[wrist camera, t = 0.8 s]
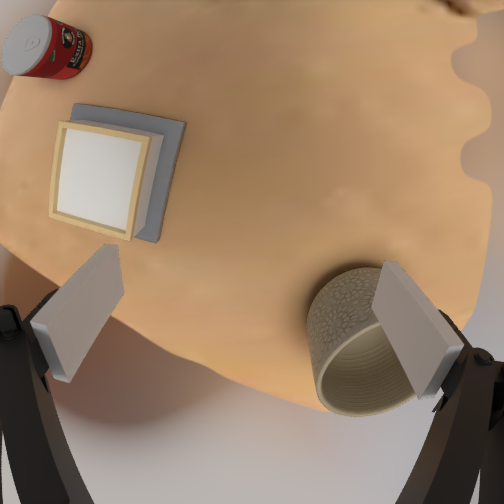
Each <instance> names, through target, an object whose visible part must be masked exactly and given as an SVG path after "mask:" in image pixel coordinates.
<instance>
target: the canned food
mask: <svg viewBox="0 0 504 504" xmlns="http://www.w3.org/2000/svg"><path fill="white" fill-rule="evenodd" d="M91 51H92V44H91V40H90V39H89V37H88V35H87V34H86V33H85V32H83V31H81V30H79V29H76V28H74V27H72V26H69V25H67V24H65V23H62V22H60V21H57V20H55V19H52V18H50V17H47V16H44V15H38V14H34V15H30V16H28V17H26V18H24V19H23V20H21V21H20V22H19V23H18V24H17V25H16V26H15V27H14V28H13V29H12V31H11V32H10V34H9V35H8V37H7V39H6V41H5V44H4V46H3V51H2V65H3V68H4V69H5V71H6V72H7V73H9V74H12V75H18V76H29V77H40V78H50V79H60V80H62V79H67V78H70V77H72V76H74V75H76V74H78V73H79V72H80V71H81V70H82V69H83V68H84V67H85V65H86V64H87V62H88V60H89V58H90V56H91Z"/></svg>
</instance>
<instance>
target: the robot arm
mask: <svg viewBox="0 0 504 504" xmlns="http://www.w3.org/2000/svg"><path fill="white" fill-rule="evenodd" d="M123 295H124V287H123V280H122V274H121V266H120V259H119V250H118V245H112V244H104V245H103V246H102V247H101V248H100V249H99V250H98V251H97V252H96V253H95V254H94V255H93V256H92V257H90V258H89V259H88V260H87V261H86V262H85V263H84V264H83V265H82V266H81V267H80V268H79V269H78V270H77V271H76V272H75V273H74V274H73V275H72V276H71V277H70V278H69V279H68V281H67V282H66V283H65V284H64V285H63V286H62V287H61V288H60V289H55V290H54V291H52V292H51V293H49V294H47V295H46V296H45V297H44V299H43V300H42V301H41V302H40V303H39V304H38V305H37V306H36V308H34V309H33V310H32V311H31V313H30V314H29V315H28V316H27V317H26V318H25V319H24V320H23V321H22V320H21V318H20V315H19V312H18V309H17V307H15V306H14V305H3V306H0V504H3V499H2V477H1V454H2V451H1V450H2V432H3V435H4V440H5V446H6V450H7V455H8V460H9V464H10V468H11V472H12V476H13V479H14V483H15V486H16V490H17V493H18V496H19V499H20V502H21V504H94V502H93V500H92V498H91V496H90V494H89V492H88V490H87V488H86V486H85V484H84V482H83V480H82V478H81V476H80V473H79V471H78V468H77V466H76V464H75V461H74V459H73V456H72V454H71V451H70V449H69V446H68V444H67V441H66V438H65V436H64V433H63V430H62V427H61V424H60V421H59V418H58V415H57V412H56V409H55V405H54V402H53V398H52V395H51V392H50V387H49V383H48V380H47V378H46V376H45V373H46V372H47V370H48V368H49V369H50V371H51V373H52V375H53V377H54V378H55V379H58V380H61V381H65V382H68V383H70V381H71V379H72V378H73V376H74V374H75V372H76V371H77V369H78V367H79V365H80V364H81V362H82V360H83V359H84V357H85V355H86V354H87V352H88V350H89V348H90V347H91V345H92V343H93V342H94V340H95V339H96V337H97V335H98V334H99V332H100V330H101V329H102V327H103V326H104V324H105V322H106V321H107V319H108V318H109V316H110V315H111V313H112V311H113V310H114V308H115V307H116V305H117V304H118V302H119V301H120V299H121V298H122V296H123ZM371 308H372V310H373V311H374V313H375V315H376V317H377V319H378V321H379V322H380V324H381V326H382V328H383V330H384V332H385V334H386V336H387V337H388V339H389V341H390V343H391V345H392V347H393V349H394V351H395V353H396V355H397V357H398V359H399V361H400V363H401V365H402V367H403V369H404V371H405V373H406V375H407V377H408V379H409V381H410V383H411V385H412V387H413V389H414V391H415V394H416V396H417V398H418V400H423V399H428V398H433V397H434V396H435V395H436V393H437V392H438V390H439V388H440V387H441V388H442V390H443V392H444V394H443V396H442V398H441V399H440V400H439V402H438V403H437V405H436V406H435V408H434V409H433V411H432V412H435V411H436V413H435V416H434V419H433V422H432V425H431V427H430V430H429V432H428V435H427V438H426V440H425V442H424V445H423V447H422V450H421V452H420V455H419V457H418V459H417V461H416V463H415V466H414V468H413V470H412V472H411V474H410V476H409V478H408V480H407V482H406V484H405V486H404V488H403V490H402V492H401V494H400V496H399V498H398V499H397V501H396V503H395V504H470V501H471V498H472V495H473V492H474V488H475V485H476V481H477V478H478V474H479V470H480V488H479V489H480V490H479V502H478V504H504V362H500V361H495V360H494V358H493V356H492V355H491V354H490V353H489V352H487V351H486V350H484V349H481V348H473V347H472V346H471V345H470V343H469V342H468V341H467V339H466V338H465V337H464V335H463V334H462V333H461V332H460V330H458V328H457V326H456V325H455V324H454V323H453V321H452V320H451V319H450V318H449V316H448V315H446V314H445V313H444V312H442V311H441V310H437V308H436V307H435V306H434V305H433V303H432V302H431V301H430V300H429V299H428V297H427V296H426V295H425V294H424V293H423V291H422V290H421V289H420V288H419V287H418V285H417V284H416V283H415V282H414V281H413V280H412V278H411V277H410V276H409V275H408V274H407V273H406V271H405V270H404V269H403V268H402V267H401V266H400V265H399V264H398V262H396V261H384V262H383V266H382V270H381V274H380V278H379V281H378V285H377V289H376V292H375V296H374V299H373V303H372V306H371ZM436 409H437V410H436Z"/></svg>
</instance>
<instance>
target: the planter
mask: <svg viewBox="0 0 504 504" xmlns="http://www.w3.org/2000/svg"><path fill="white" fill-rule="evenodd" d="M381 270H382V269H378V268H370V267H366V268H357V269H353V270H350V271H347V272H344V273H342V274H340V275H338V276H337V277H335V278H333V279H332V280H331V281H329V282H328V283H327V284H326V285H325V286H324V287H323V288H322V289H321V290H320V291H319V293H318V294H317V295H316V297H315V299H314V300H313V302H312V304H311V307H310V309H309V313H308V317H307V339H308V345H309V351H310V357H311V364H312V370H313V376H314V382H315V387H316V391H317V395H318V398H319V400H320V402H321V403H322V404H323V405H324V406H325V407H326V408H327V409H328V410H330V411H332V412H334V413H336V414H339V415H344V416H350V417H363V416H371V415H376V414H380V413H383V412H386V411H389V410H391V409H394V408H396V407H398V406H400V405H402V404H404V403H406V402H407V401H409V400H410V399H412V398H414V397H415V396H416V394H415V391H414V389H413V387H412V385H411V383H410V381H409V379H408V377H407V375H406V373H405V371H404V369H403V367H402V365H401V363H400V361H399V359H398V357H397V355H396V353H395V351H394V349H393V347H392V345H391V343H390V341H389V339H388V337H387V336H386V334H385V332H384V330H383V328H382V326H381V324H380V322H379V321H378V319H377V317H376V315H375V313H374V311H373V310H372V308H371V306H372V303H373V299H374V296H375V292H376V289H377V285H378V281H379V278H380V274H381Z"/></svg>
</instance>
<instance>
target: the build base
mask: <svg viewBox="0 0 504 504" xmlns="http://www.w3.org/2000/svg"><path fill="white" fill-rule="evenodd" d="M185 127H186V123H185V122H181V121H177V120H172V119H167V118H162V117H158V116H153V115H147V114H142V113H137V112H131V111H125V110H119V109H113V108H107V107H100V106H93V105H85V104H74V105H73V109H72V114H71V119H70V120H69V121H59V126H58V132H57V137H56V144H55V151H54V158H53V166H52V175H51V186H50V199H49V217H50V218H54V219H57V220H60V221H63V222H66V223H70V224H73V225H76V226H80V227H83V228H86V229H90V230H93V231H96V232H100V233H103V234H106V235H110V236H113V237H116V238H120V239H123V240H127V241H131V240H132V239H133V238H134V237H135V238H139V239H142V240H146V241H149V242H153V243H157V242H158V241H159V239H160V234H161V229H162V224H163V219H164V214H165V209H166V204H167V200H168V195H169V191H170V186H171V182H172V178H173V173H174V169H175V165H176V161H177V157H178V153H179V149H180V145H181V141H182V138H183V134H184V130H185Z"/></svg>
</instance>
